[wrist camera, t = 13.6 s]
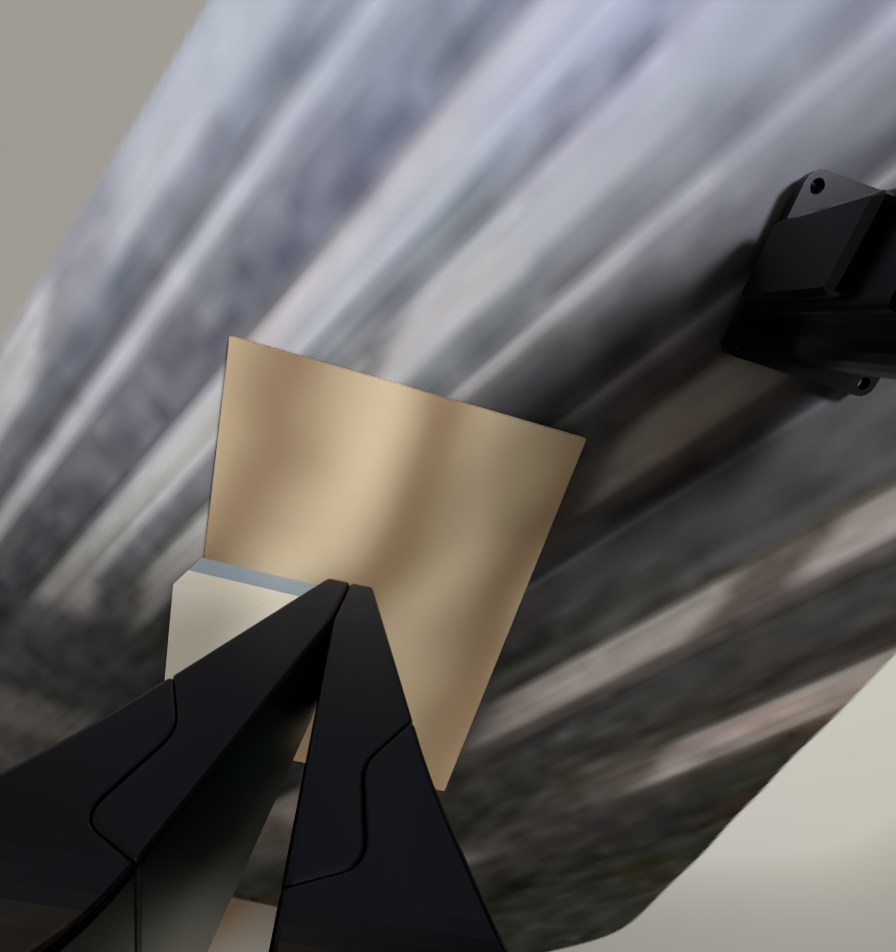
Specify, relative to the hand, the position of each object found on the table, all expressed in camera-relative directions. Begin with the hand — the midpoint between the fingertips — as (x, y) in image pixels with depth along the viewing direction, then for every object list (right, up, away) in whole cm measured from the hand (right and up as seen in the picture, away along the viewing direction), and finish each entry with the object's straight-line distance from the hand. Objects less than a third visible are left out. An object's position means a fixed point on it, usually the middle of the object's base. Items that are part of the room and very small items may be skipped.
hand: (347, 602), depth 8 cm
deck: (-5, -7, +13) cm, 16 cm away
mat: (-3, -4, +13) cm, 14 cm away
